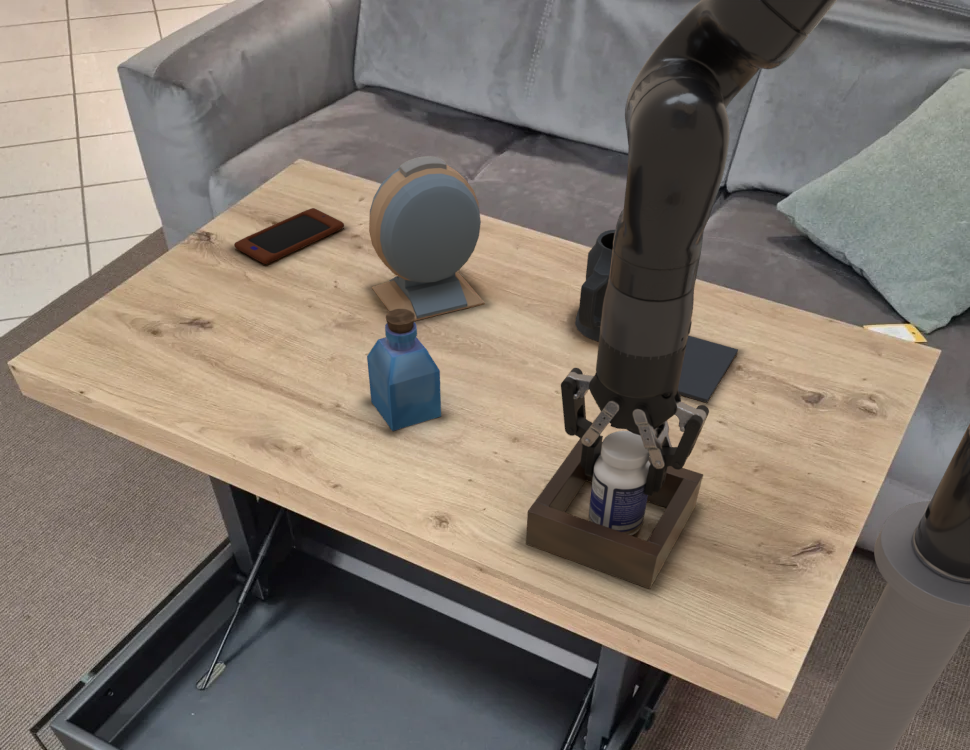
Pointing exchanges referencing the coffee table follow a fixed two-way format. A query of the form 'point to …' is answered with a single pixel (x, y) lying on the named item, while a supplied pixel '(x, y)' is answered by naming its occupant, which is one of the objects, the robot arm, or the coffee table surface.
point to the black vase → (595, 286)
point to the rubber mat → (703, 368)
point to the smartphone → (288, 235)
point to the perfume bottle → (403, 374)
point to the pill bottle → (620, 483)
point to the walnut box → (605, 544)
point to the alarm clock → (425, 237)
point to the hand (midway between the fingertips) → (621, 480)
